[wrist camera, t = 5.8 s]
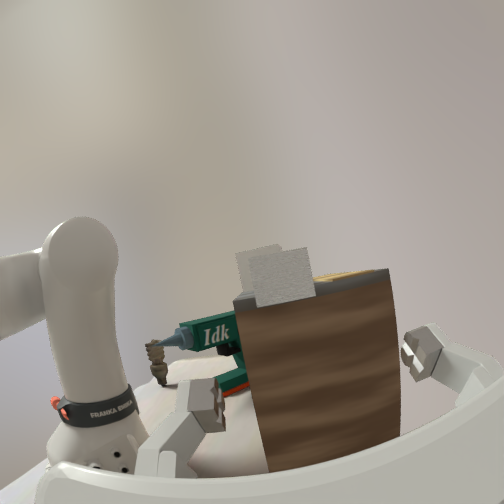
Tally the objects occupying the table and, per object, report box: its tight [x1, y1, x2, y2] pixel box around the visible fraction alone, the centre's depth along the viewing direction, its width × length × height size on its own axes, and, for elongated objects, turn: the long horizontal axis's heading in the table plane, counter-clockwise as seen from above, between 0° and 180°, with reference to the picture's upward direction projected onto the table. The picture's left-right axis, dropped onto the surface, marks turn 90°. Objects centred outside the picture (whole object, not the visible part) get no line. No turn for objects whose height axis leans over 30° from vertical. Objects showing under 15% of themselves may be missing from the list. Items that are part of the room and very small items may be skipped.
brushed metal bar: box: [248, 247, 316, 308], centre depth 25 cm, size 23×3×2 cm, turn 179°
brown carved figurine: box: [145, 340, 168, 386], centre depth 74 cm, size 6×6×15 cm
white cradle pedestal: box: [236, 244, 282, 292], centre depth 76 cm, size 11×11×35 cm
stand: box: [233, 268, 401, 473], centre depth 29 cm, size 16×14×26 cm
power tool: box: [152, 310, 250, 397], centre depth 65 cm, size 32×7×20 cm, turn 131°
